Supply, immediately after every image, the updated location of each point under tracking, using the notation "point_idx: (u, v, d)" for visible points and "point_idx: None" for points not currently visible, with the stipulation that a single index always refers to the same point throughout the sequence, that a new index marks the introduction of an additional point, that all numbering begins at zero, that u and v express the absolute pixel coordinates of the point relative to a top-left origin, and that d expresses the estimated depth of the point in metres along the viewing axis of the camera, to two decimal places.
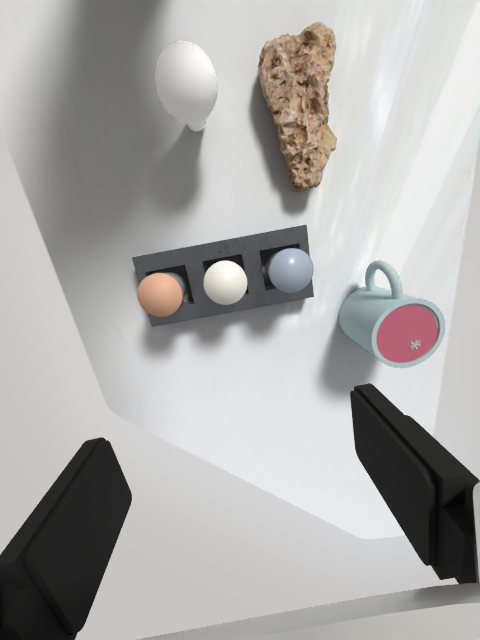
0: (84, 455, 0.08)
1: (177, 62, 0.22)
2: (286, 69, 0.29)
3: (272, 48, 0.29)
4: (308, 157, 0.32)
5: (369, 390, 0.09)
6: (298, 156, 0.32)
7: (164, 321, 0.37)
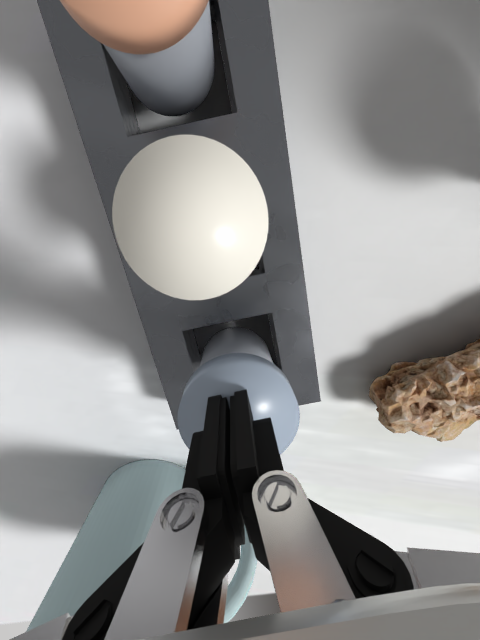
0: (216, 406, 0.09)
1: None
2: None
3: None
4: (436, 407, 0.17)
5: (240, 395, 0.10)
6: (439, 391, 0.17)
7: (54, 21, 0.11)
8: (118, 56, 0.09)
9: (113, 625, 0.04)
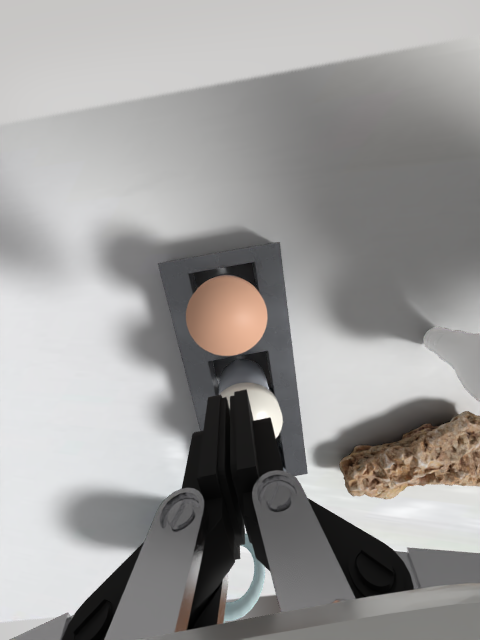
0: (216, 406, 0.09)
1: None
2: (466, 452, 0.26)
3: None
4: (379, 481, 0.27)
5: (240, 395, 0.10)
6: (380, 471, 0.27)
7: (169, 286, 0.21)
8: None
9: (113, 625, 0.04)
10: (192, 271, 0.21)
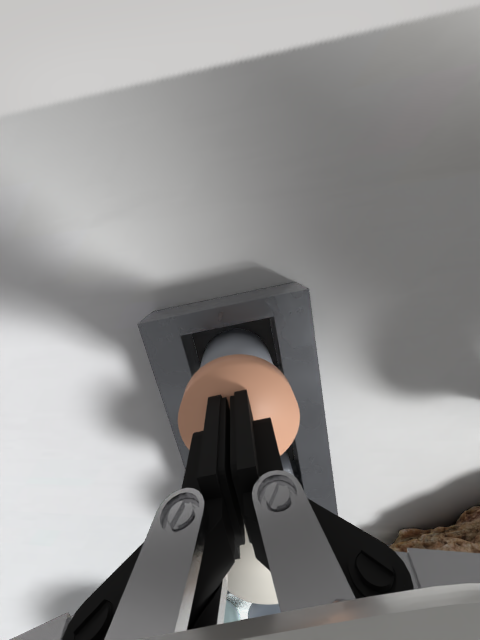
0: (216, 406, 0.09)
1: None
2: None
3: None
4: None
5: (240, 395, 0.10)
6: None
7: (154, 353, 0.15)
8: None
9: (113, 625, 0.04)
10: (186, 332, 0.15)
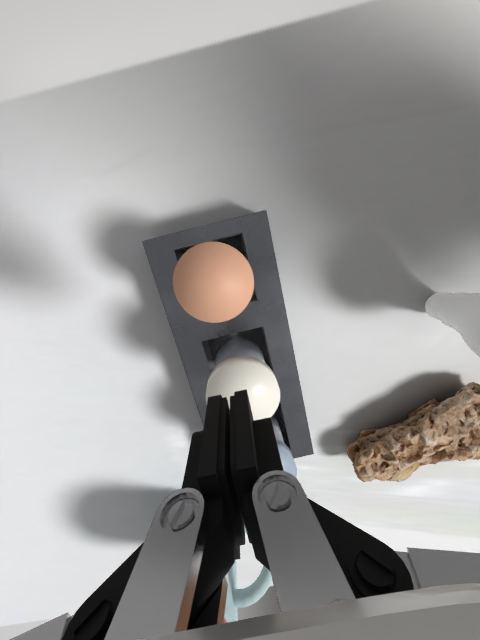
0: (216, 406, 0.09)
1: None
2: (475, 424, 0.25)
3: None
4: (388, 464, 0.27)
5: (240, 395, 0.10)
6: (388, 454, 0.26)
7: (155, 264, 0.20)
8: None
9: (113, 625, 0.04)
10: (178, 247, 0.20)
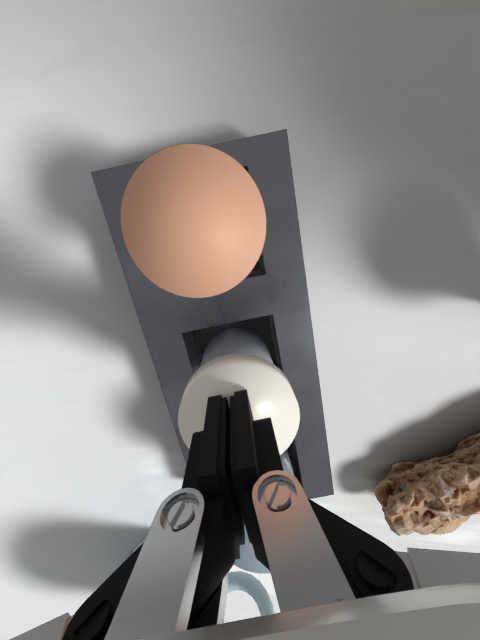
0: (216, 406, 0.09)
1: None
2: None
3: None
4: (434, 514, 0.20)
5: (240, 395, 0.10)
6: (435, 501, 0.19)
7: (112, 211, 0.13)
8: None
9: (113, 625, 0.04)
10: None
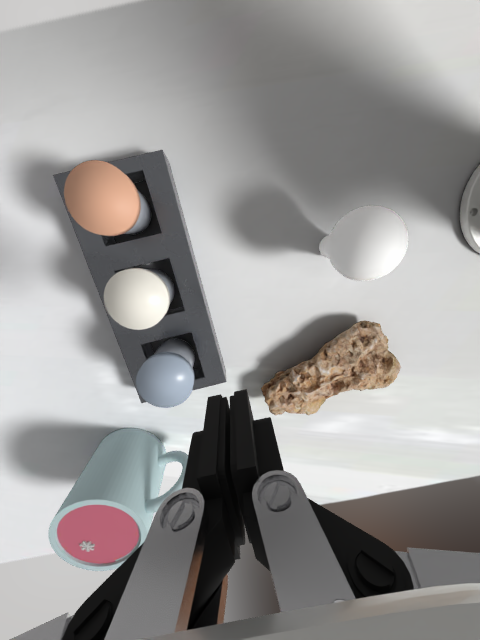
0: (216, 406, 0.09)
1: (391, 238, 0.19)
2: (362, 353, 0.29)
3: (375, 334, 0.29)
4: (294, 396, 0.30)
5: (240, 395, 0.10)
6: (292, 387, 0.30)
7: None
8: None
9: (113, 625, 0.04)
10: None
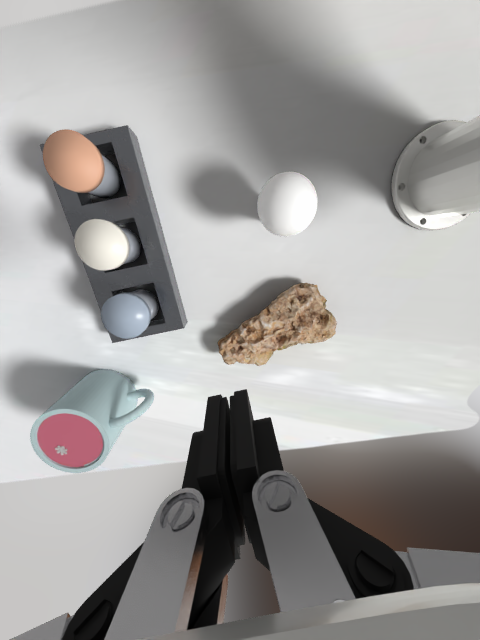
0: (216, 406, 0.09)
1: (295, 196, 0.23)
2: (298, 309, 0.34)
3: (311, 293, 0.34)
4: (243, 348, 0.35)
5: (240, 395, 0.10)
6: (241, 339, 0.35)
7: None
8: None
9: (113, 625, 0.04)
10: None
